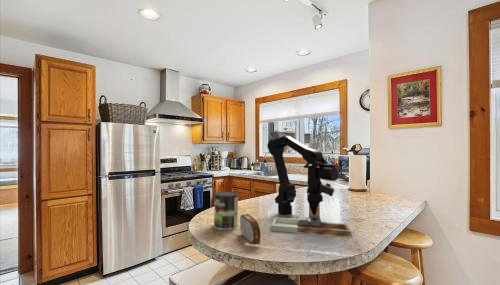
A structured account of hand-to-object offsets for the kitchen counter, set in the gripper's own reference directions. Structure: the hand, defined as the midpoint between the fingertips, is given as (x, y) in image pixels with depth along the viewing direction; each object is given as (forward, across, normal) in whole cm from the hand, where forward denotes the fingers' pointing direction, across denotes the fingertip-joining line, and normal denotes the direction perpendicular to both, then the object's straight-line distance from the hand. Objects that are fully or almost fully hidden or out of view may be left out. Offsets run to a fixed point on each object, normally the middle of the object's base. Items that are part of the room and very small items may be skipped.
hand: (314, 213), depth 106 cm
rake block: (+2, 0, 0) cm, 2 cm away
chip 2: (+4, -10, 0) cm, 11 cm away
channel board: (+5, -10, -3) cm, 11 cm away
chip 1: (+4, -10, +5) cm, 12 cm away
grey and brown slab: (+5, -25, +24) cm, 35 cm away
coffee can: (+5, -13, +37) cm, 40 cm away
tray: (+5, -10, +12) cm, 16 cm away
